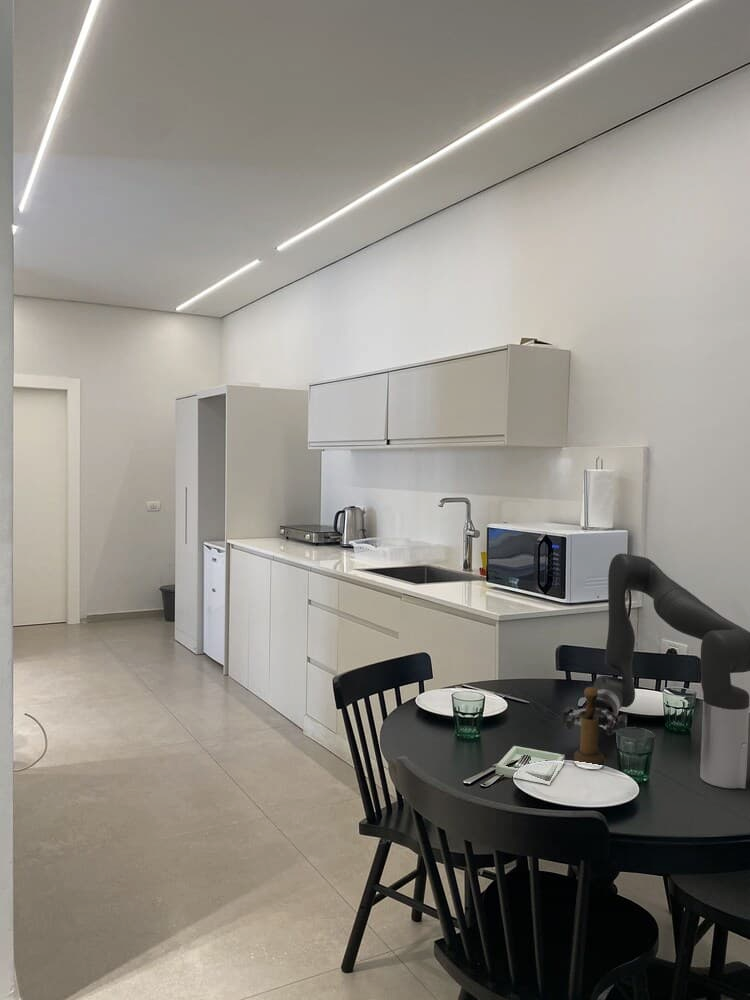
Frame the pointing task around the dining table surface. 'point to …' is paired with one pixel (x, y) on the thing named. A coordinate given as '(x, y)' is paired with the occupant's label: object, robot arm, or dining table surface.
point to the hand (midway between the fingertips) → (588, 728)
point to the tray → (535, 757)
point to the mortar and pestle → (589, 732)
